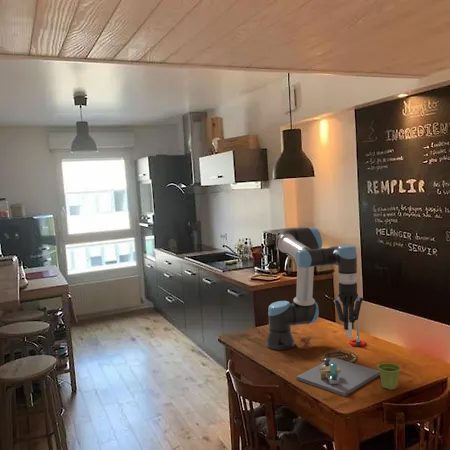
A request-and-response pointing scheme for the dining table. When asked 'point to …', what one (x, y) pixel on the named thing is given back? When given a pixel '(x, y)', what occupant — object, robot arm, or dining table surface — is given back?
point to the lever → (331, 371)
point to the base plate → (340, 377)
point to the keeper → (326, 371)
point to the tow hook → (357, 339)
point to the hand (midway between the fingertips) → (349, 336)
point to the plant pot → (389, 375)
